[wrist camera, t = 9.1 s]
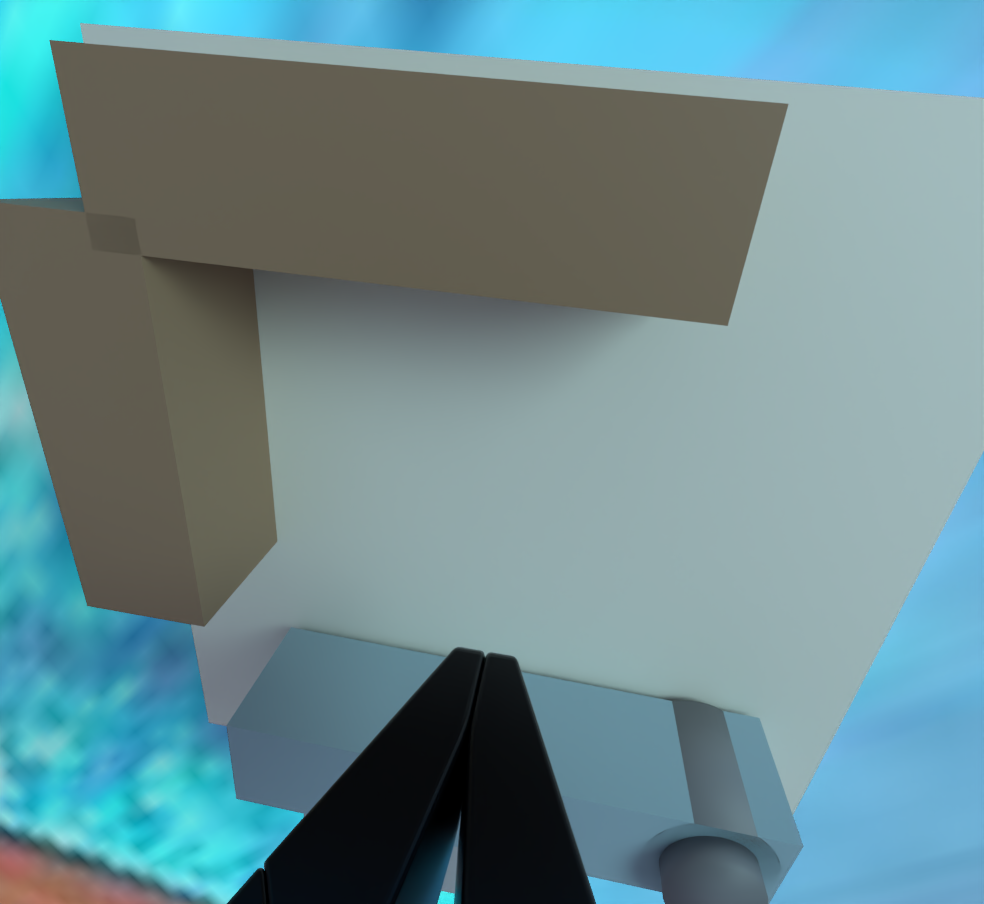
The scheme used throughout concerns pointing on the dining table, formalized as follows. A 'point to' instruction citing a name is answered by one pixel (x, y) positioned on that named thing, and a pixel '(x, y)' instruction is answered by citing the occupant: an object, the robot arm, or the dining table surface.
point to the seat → (506, 361)
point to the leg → (573, 755)
